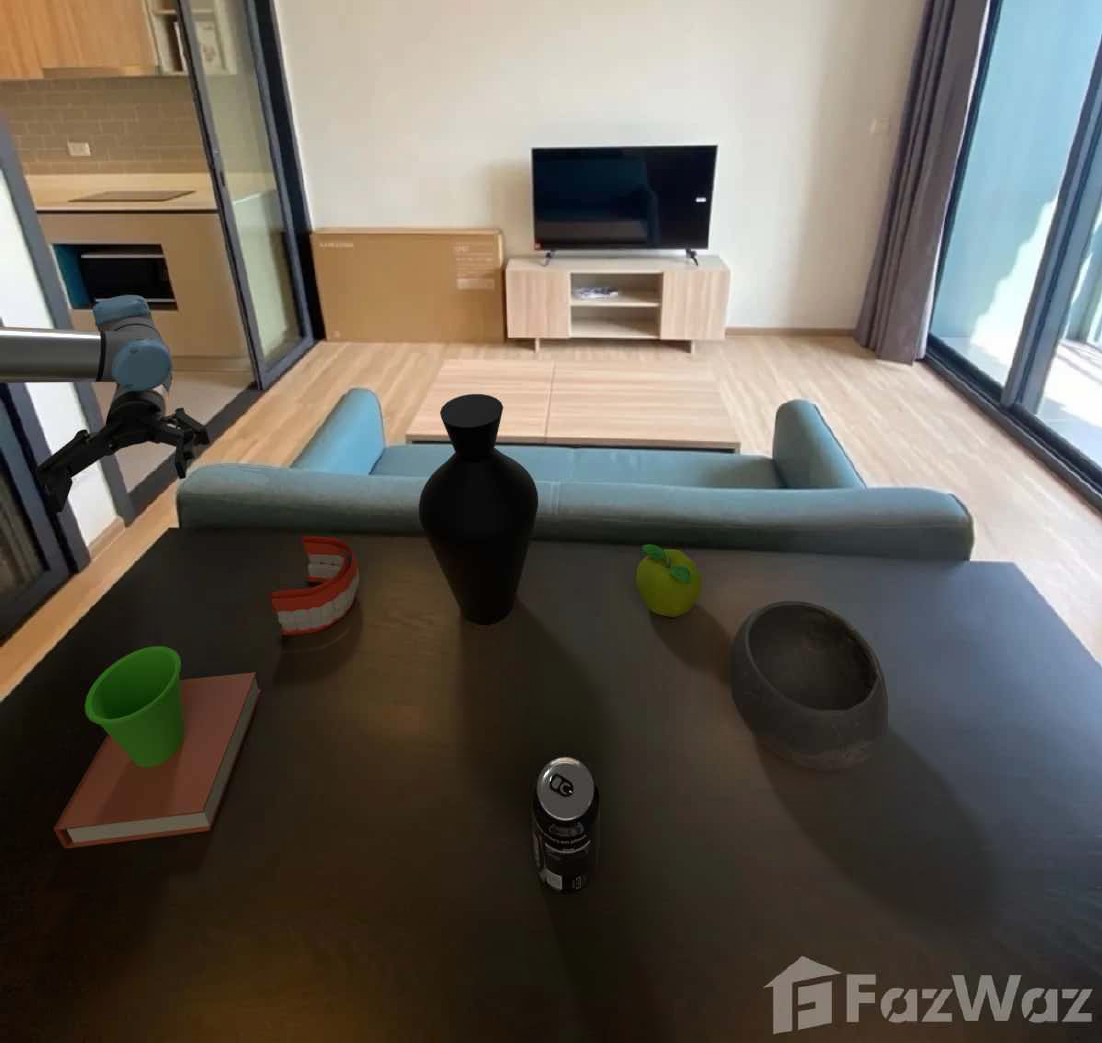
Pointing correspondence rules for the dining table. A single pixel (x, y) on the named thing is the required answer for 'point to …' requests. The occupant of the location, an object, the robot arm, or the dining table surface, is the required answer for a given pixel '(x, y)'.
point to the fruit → (667, 581)
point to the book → (165, 772)
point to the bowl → (808, 685)
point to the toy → (319, 588)
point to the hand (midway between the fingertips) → (119, 486)
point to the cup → (141, 704)
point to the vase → (479, 511)
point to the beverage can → (566, 825)
